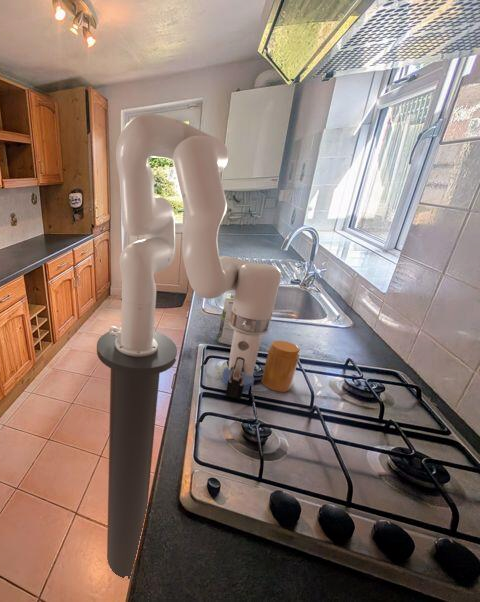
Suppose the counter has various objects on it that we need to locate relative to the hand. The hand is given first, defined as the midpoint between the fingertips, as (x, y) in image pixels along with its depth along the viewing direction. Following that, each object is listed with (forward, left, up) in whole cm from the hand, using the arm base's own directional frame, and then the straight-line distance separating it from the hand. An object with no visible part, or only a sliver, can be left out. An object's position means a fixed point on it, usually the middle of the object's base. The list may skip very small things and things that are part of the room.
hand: (235, 387), depth 72 cm
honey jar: (+8, +7, 0) cm, 11 cm away
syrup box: (-5, +24, -1) cm, 24 cm away
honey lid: (0, 0, +3) cm, 3 cm away
